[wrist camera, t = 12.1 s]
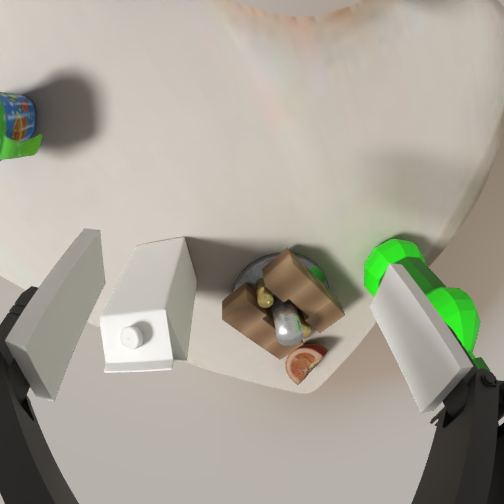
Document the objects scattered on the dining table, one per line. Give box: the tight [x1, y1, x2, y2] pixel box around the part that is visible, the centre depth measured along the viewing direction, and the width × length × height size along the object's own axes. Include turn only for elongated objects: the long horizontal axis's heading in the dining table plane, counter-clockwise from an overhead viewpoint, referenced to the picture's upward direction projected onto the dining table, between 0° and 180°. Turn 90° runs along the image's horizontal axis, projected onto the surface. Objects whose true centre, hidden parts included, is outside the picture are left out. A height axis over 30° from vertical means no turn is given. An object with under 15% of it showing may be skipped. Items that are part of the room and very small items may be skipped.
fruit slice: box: [286, 344, 328, 385], centre depth 49 cm, size 8×7×5 cm
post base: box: [233, 253, 329, 346], centre depth 41 cm, size 14×14×9 cm
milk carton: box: [100, 237, 197, 373], centre depth 33 cm, size 7×7×19 cm
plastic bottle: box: [364, 239, 490, 371], centre depth 32 cm, size 10×10×25 cm
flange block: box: [222, 248, 345, 359], centre depth 42 cm, size 12×12×4 cm
